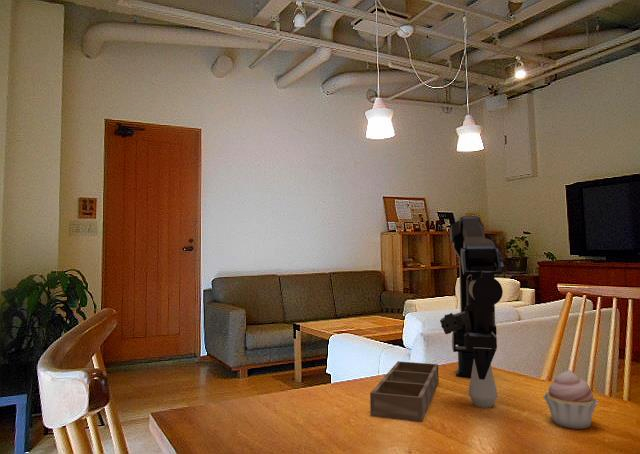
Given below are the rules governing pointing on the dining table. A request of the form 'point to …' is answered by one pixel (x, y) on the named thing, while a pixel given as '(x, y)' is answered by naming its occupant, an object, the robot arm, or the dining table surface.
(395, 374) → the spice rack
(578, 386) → the cupcake
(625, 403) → the dining table surface
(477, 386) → the salt shaker
